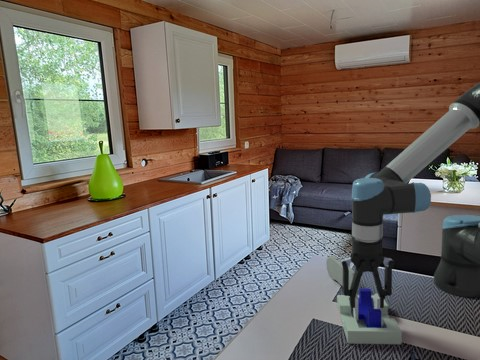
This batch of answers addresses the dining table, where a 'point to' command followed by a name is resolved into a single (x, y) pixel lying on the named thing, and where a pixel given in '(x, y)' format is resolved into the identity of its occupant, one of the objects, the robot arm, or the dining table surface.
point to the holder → (360, 332)
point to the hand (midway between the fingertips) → (366, 317)
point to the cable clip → (368, 310)
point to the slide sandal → (339, 271)
